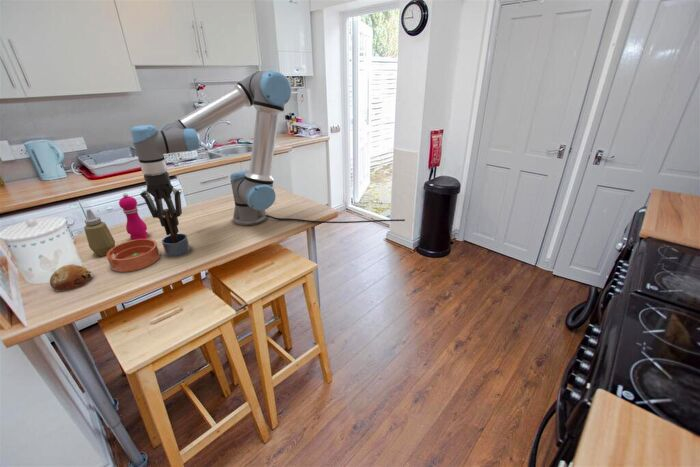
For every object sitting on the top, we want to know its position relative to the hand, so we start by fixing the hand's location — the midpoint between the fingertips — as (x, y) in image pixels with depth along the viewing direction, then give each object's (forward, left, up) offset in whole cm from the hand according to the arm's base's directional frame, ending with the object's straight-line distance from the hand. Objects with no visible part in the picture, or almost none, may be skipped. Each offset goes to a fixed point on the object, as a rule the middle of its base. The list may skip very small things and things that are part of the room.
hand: (172, 233), depth 120 cm
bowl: (+13, +5, -8) cm, 16 cm away
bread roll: (+28, +16, -8) cm, 33 cm away
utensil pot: (0, 0, -8) cm, 8 cm away
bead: (+13, +5, -6) cm, 15 cm away
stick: (0, 0, -6) cm, 6 cm away
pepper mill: (+20, -15, -8) cm, 26 cm away
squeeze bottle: (+28, -4, -8) cm, 29 cm away
